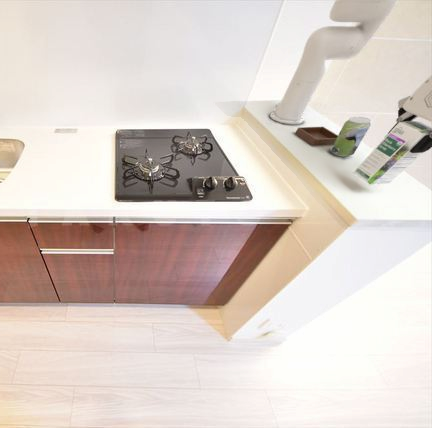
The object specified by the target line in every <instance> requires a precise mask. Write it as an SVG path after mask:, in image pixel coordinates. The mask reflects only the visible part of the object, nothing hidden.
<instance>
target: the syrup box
mask: <svg viewBox="0 0 432 428" xmlns="http://www.w3.org/2000/svg"><path fill="white" fill-rule="evenodd" d="M394 126H395V125H394ZM394 126H393V127H394ZM393 127H392V128H393ZM392 128H391V129H392ZM391 129H390V130H391ZM431 132H432V126H431V125H428V124H427V123H424V122H422V121H419V120H418V121H417V120H413V121H405V122H399V123H398V124H397V125H396V126H395V127H394V128H393V129H392V130H391V132H390V133H389V134H388V133H387V134H388V135H387V134H386V135H387V136H386V135H385V136H386V137H385V136H384V138H383V139H382V140H381V141H380V142H379V143H378V145H377V146H376V147H374V149H373V150H372V151H371V152H370V153H369V155H368V156H367V157H366V158H365V159H364V160H363V161H362V162H361V163H360V164H359V165H358V166H357V167H356V168H355V169H354V171H353V172H352V173H353V174H354V175H357V176H358V177H359V178H361V179H362V180H363V181H364V182H366V183H367V184H368V185H383V184H384V185H385V184H391V182H392V181H393V180H395V179H396V178H397V177H398V176H399V175H400V174H401V173H402V172H404V171H405V170H406V169H407V168H408V167H409V166H410V165H411V164H412V163H414V161H416V160H417V159H418V158H419V157H420V156H421V155H422V154H423V153H411V152H410V150H411V149H412V148H413V147H414V146H415V145H416V144H417V143H418V142H419V141H420V140H421V139H422V138H423V137H424V136H429V135H430V134H431Z"/></svg>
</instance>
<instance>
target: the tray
mask: <svg viewBox="0 0 432 428" xmlns="http://www.w3.org/2000/svg"><path fill="white" fill-rule="evenodd" d="M294 134H295V135H296V136H297V137H299V138H300V139H301V140H303V141H305V142H306V143H307V144H308V145H310V146H312V147H318V146H333V145H334V143H335V141H336V139H337V137H338V135H339V134H336V133H335V132H333V131H332V130H329V128H326V127H325V126H304V127H302V126H301V127H297V129H296V131H295V133H294Z"/></svg>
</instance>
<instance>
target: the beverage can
mask: <svg viewBox="0 0 432 428" xmlns="http://www.w3.org/2000/svg"><path fill="white" fill-rule="evenodd" d="M370 127H371V119H370V118H368V117H364V116H351V117H349V119H348V120H346V121H345V122H344V123H343V125H342V127H341V129H340V131H339V133H338V134H337V135H338V137H337V139H336V141H335V143H334V145H332V146H331V149H330V152H331V153H332V154H333V155H335V156H338V157H349V156H353V155H354V154H355V153H356V151H357V149H358V148H359V146H360V145H361V143H362V141H363V139H364V138H365V136H366V135H367V133H368V130H369V129H370Z"/></svg>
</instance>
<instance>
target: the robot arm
mask: <svg viewBox="0 0 432 428" xmlns="http://www.w3.org/2000/svg"><path fill="white" fill-rule="evenodd" d="M398 2H399V0H335V1H334V3H333V4H332V6H331V8H330V11H329V16H328V17H329V19H330V20H331V22H336V23H355V25H328V26H322V27H320V28H317V29H316V30H314V31H313V32H312V33H311V34H310V35H309V36H308V38H307V39H306V41H305V44H304V47H303V51H302V54H301V57H300V60H299V62H298V65H297V67H296V69H295V72H294V74H293V75H292V78H291V80H290V82H289V83H288V86H287V88H286V90H285V93H284V94H283V97H282V99H281V101H280V102H278V103H275V104H274V105H273V107H274V108H275V110H274V111H272V112H271V113H270V115H269V117H270V119H271V120H273V121H275V122H278V123H280V124H285V125H300V124H302V123H304V121H305V118H304V117H303V114H304V112H305V110H306V109H307V107H308V105H309V103H310V102H311V100H312V98H313V96H314V94H315V93H316V91H317V90H318V87H319V86H320V84H321V82H322V80H323V79H324V77H325V74H326V64H325V63H326V61H329V60H330V61H331V60H337V61H343V60H344V61H345V60H350V59H353V58H354V57H355V58H356V56H358V55H359V54H360V53H361V52H362V51H363V50H364V49H365V47H367V45H368V44H369V43H370V42H371V40H372V39H373V38H374V36H375V34H377V32H378V31H379V29H380V28H381V27H382V25H383V24H384V23H385V22H386V20H387V19H388V17H389V16H390V15H391V13H392V12H393V10H394V9H395V7H396V6H397V4H398ZM430 2H431V4H432V0H430ZM397 107H398V110H397V118H396V119H395V121H396V123H395V124H394V125H393V126H392V128H391V129H390V130H389V131H388V132H387V134H386V135H385V136H384V138H385V137H386V136H387V135H388V134H389V133H390V132H391V130H392V129H393V128H394V127H395V126H396V125H397V124H398V123H399V122H405V121H415V120H416V119H417V118H421V119H424V120H426V121H429V122H431V123H432V74H431V75H430V76H428V78H427V79H425V80H424V82H422V84H421V85H419V87H418V88H416V90H414V91H413V92H412V94H411V95H409V96H406V97H404V98H401V99H399V100H398V102H397ZM431 149H432V132H431V134H430V135H429V136H424V137H423V138H422V139H421V140H420V141H419V142H418V143H417V144H416V145H415V146H414V147H413V148H412V149H411V150H410V152H411V153H422V154H423V153H425V152H427V151H429V150H431Z"/></svg>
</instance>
